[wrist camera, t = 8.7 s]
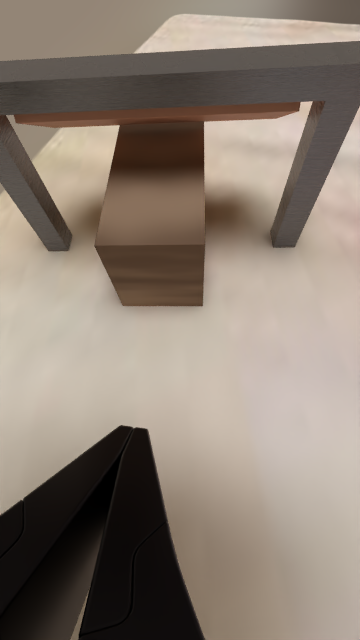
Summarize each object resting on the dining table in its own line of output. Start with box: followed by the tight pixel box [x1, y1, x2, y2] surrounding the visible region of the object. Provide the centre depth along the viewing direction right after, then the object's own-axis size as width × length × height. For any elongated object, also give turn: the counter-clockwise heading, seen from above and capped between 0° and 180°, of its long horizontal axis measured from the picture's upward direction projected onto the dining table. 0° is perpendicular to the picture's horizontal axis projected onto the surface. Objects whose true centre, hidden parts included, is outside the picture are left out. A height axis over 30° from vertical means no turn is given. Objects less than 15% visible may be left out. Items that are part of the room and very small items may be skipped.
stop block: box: [94, 122, 205, 306], centre depth 24 cm, size 14×7×8 cm, turn 178°
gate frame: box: [0, 41, 360, 251], centre depth 22 cm, size 2×24×14 cm, turn 89°
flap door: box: [14, 102, 300, 128], centre depth 20 cm, size 1×18×6 cm
